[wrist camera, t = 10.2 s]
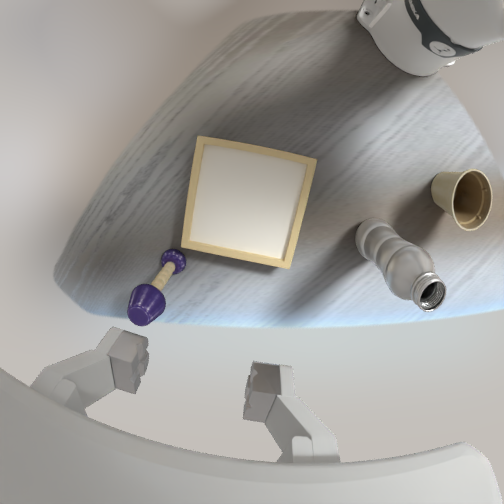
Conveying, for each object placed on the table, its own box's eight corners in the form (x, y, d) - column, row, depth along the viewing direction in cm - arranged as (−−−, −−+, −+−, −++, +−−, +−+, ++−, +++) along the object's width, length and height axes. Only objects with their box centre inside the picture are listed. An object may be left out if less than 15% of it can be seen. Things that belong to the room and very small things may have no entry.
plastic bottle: (363, 261, 44) (416, 334, 25) (344, 229, 42) (397, 291, 23) (394, 240, 42) (461, 300, 23) (376, 206, 40) (448, 253, 22)
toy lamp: (175, 241, 44) (132, 292, 28) (195, 261, 45) (163, 320, 29) (157, 259, 45) (112, 314, 30) (177, 279, 46) (141, 340, 31)
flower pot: (459, 217, 40) (488, 231, 32) (420, 215, 40) (448, 231, 32) (463, 165, 36) (494, 173, 28) (424, 159, 37) (454, 165, 29)
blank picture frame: (203, 136, 38) (197, 135, 34) (312, 158, 38) (317, 159, 35) (187, 238, 44) (180, 247, 40) (287, 259, 44) (289, 269, 41)
